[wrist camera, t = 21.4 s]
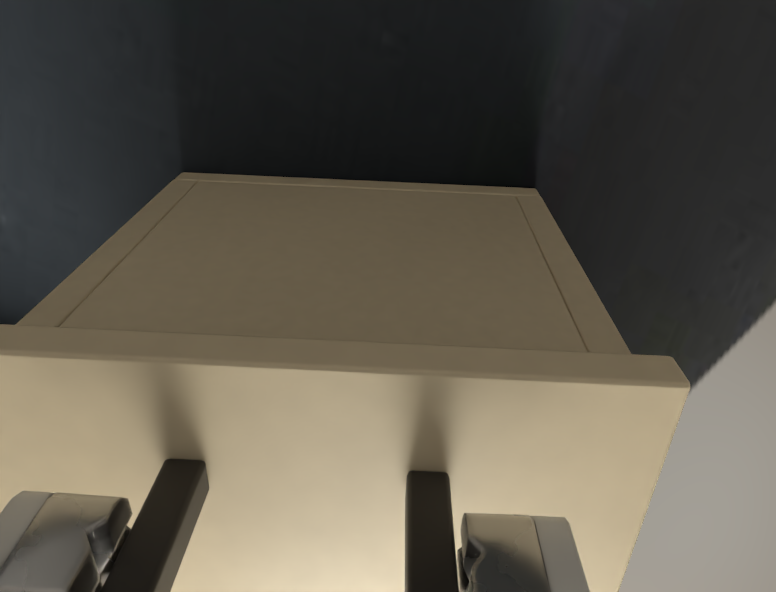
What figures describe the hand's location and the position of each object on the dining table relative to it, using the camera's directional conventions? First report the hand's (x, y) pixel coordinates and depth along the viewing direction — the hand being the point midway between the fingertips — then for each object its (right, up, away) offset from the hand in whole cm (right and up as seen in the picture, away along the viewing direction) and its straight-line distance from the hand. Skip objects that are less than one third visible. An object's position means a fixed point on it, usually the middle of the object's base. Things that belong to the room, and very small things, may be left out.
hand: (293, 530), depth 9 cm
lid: (0, -4, +4) cm, 6 cm away
